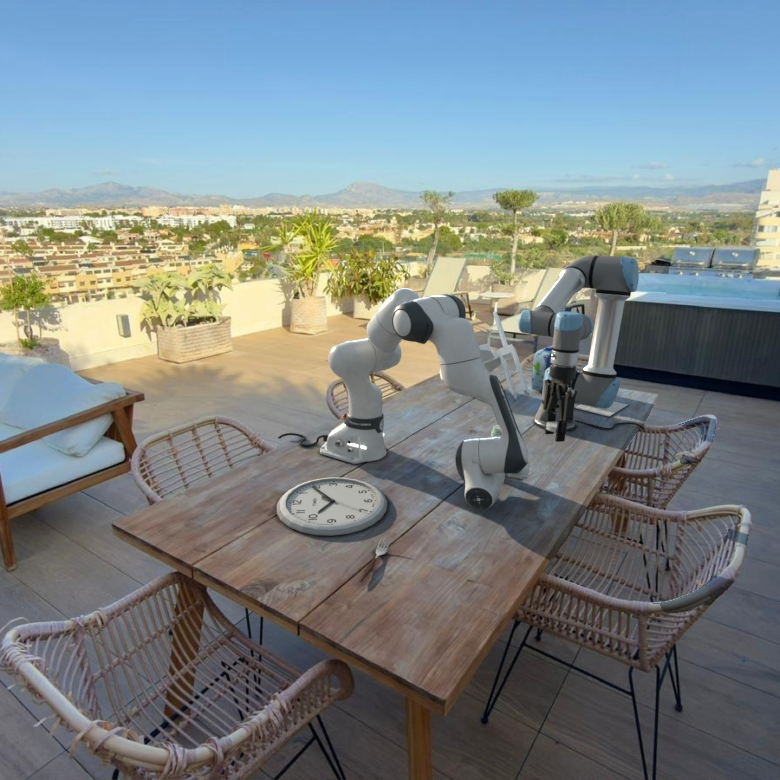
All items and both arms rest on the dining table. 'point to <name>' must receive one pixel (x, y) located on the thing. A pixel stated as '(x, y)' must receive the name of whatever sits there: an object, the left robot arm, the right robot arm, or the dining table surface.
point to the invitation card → (606, 412)
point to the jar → (496, 431)
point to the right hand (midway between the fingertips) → (554, 437)
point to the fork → (379, 552)
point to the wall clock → (331, 506)
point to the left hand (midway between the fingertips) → (497, 454)
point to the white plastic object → (502, 359)
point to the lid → (551, 426)
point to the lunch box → (540, 367)
